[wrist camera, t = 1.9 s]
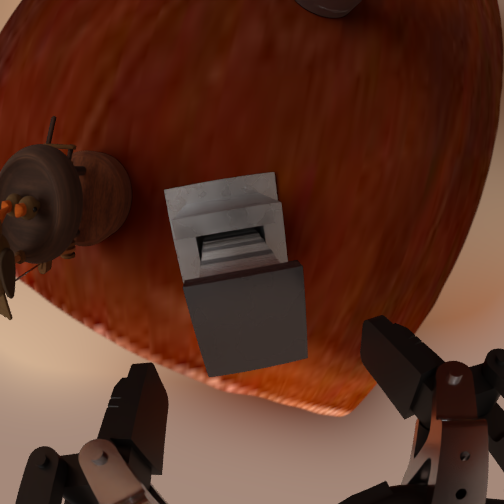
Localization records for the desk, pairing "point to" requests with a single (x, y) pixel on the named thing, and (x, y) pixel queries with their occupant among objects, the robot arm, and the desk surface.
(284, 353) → the column
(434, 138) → the desk surface
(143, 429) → the robot arm
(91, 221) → the brown piece
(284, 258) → the stand
